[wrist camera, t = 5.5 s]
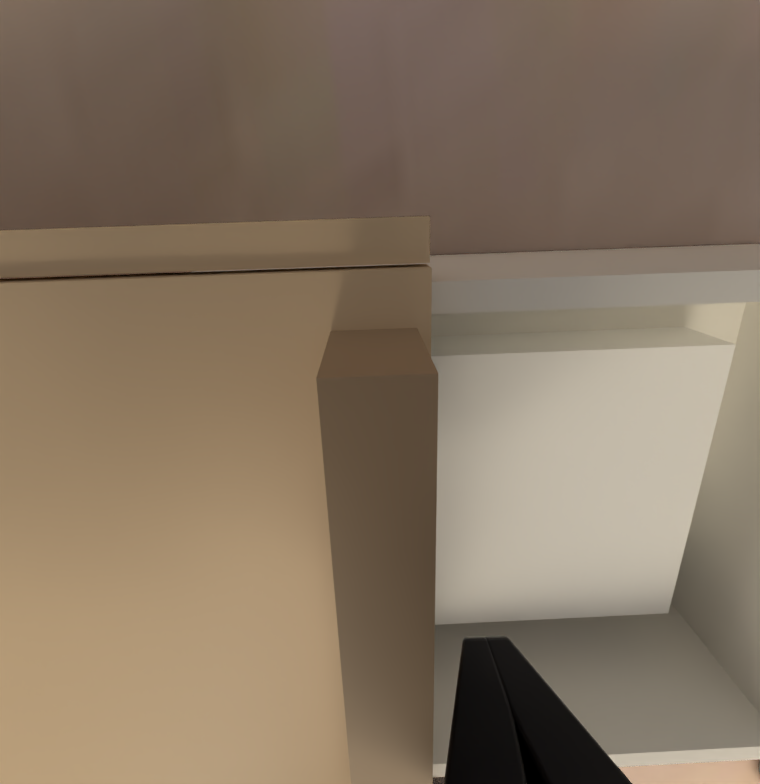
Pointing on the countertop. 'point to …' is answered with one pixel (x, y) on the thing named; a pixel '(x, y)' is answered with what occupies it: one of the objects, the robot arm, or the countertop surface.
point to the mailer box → (604, 488)
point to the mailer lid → (218, 504)
